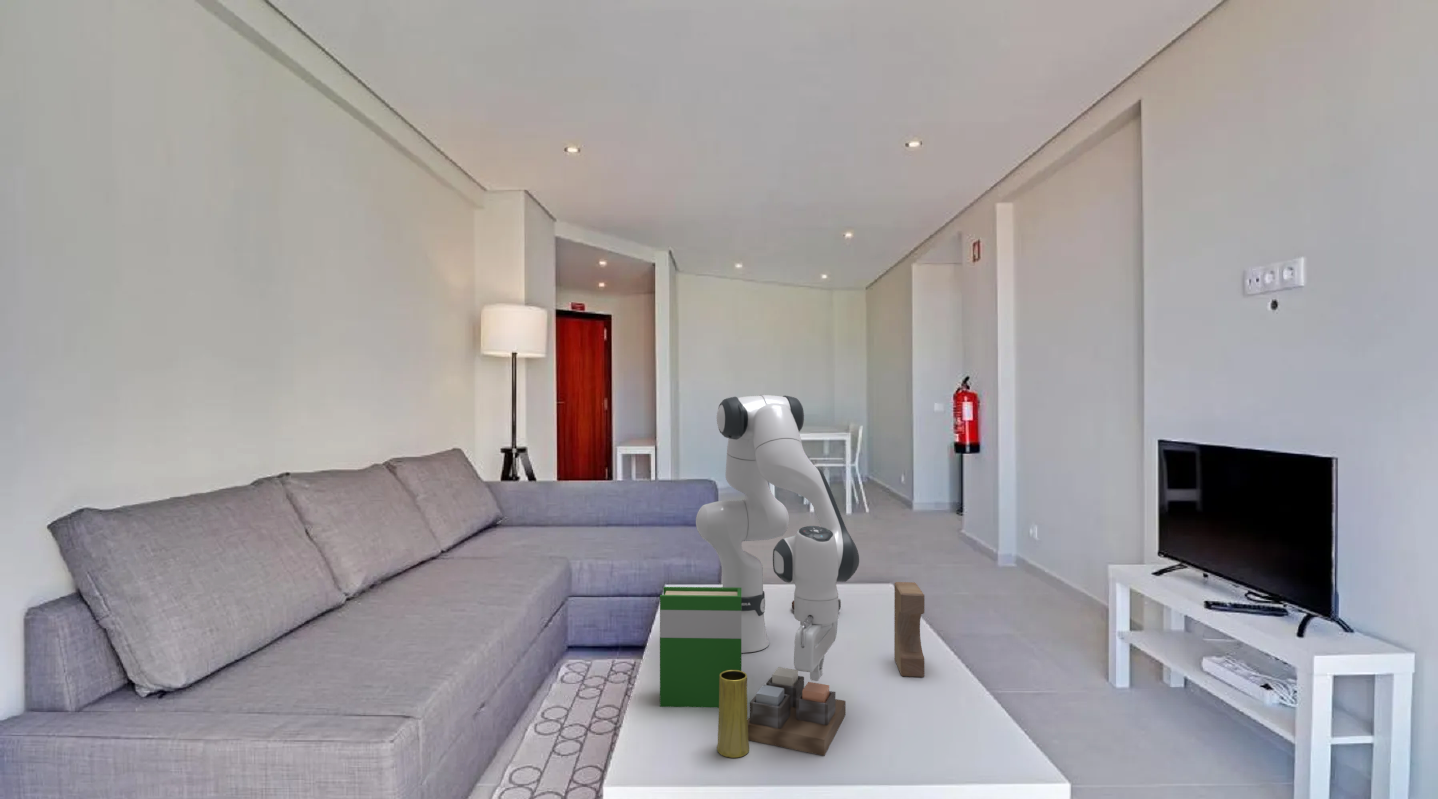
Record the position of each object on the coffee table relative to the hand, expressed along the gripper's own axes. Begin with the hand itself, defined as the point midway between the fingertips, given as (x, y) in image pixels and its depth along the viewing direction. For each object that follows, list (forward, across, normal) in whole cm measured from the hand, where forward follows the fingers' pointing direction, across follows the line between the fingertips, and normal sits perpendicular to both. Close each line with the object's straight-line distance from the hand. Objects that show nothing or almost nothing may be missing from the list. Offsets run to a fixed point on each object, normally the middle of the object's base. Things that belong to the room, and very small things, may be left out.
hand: (816, 678), depth 138 cm
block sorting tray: (+10, 0, +4) cm, 11 cm away
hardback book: (+11, +4, +27) cm, 29 cm away
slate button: (+5, -5, +8) cm, 11 cm away
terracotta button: (+5, 0, 0) cm, 5 cm away
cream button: (+5, +5, +8) cm, 11 cm away
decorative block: (+11, +40, -13) cm, 44 cm away
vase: (+11, -14, +13) cm, 21 cm away
